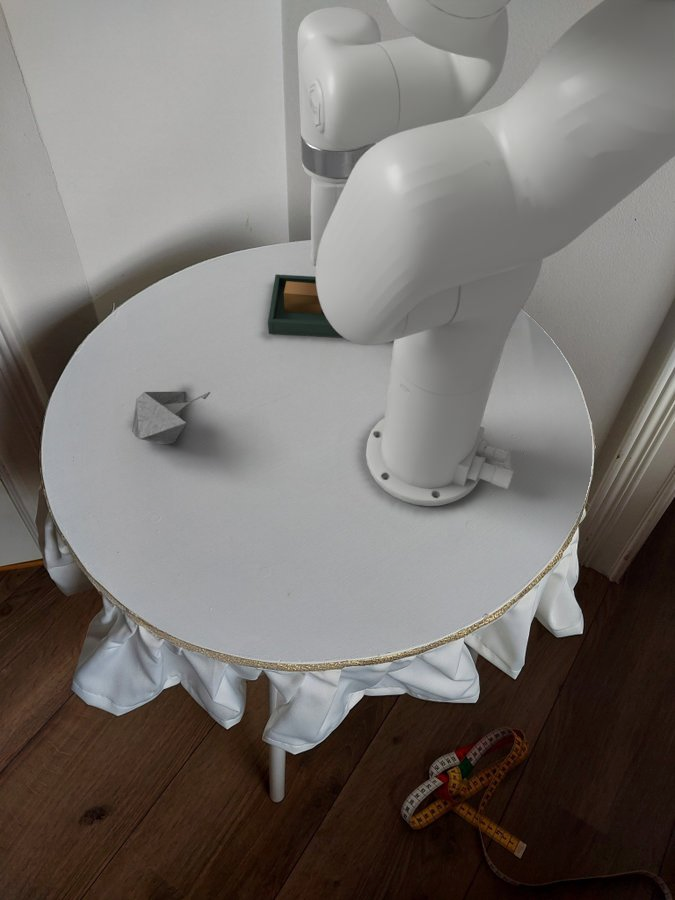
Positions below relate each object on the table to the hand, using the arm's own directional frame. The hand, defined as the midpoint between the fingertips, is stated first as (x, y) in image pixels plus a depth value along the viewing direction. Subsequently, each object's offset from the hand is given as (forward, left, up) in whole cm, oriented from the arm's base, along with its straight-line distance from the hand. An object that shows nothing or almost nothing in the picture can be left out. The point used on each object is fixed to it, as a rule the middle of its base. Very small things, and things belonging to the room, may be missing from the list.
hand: (337, 287), depth 86 cm
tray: (0, -1, -5) cm, 5 cm away
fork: (0, -1, -5) cm, 5 cm away
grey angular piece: (+9, +24, -5) cm, 26 cm away
